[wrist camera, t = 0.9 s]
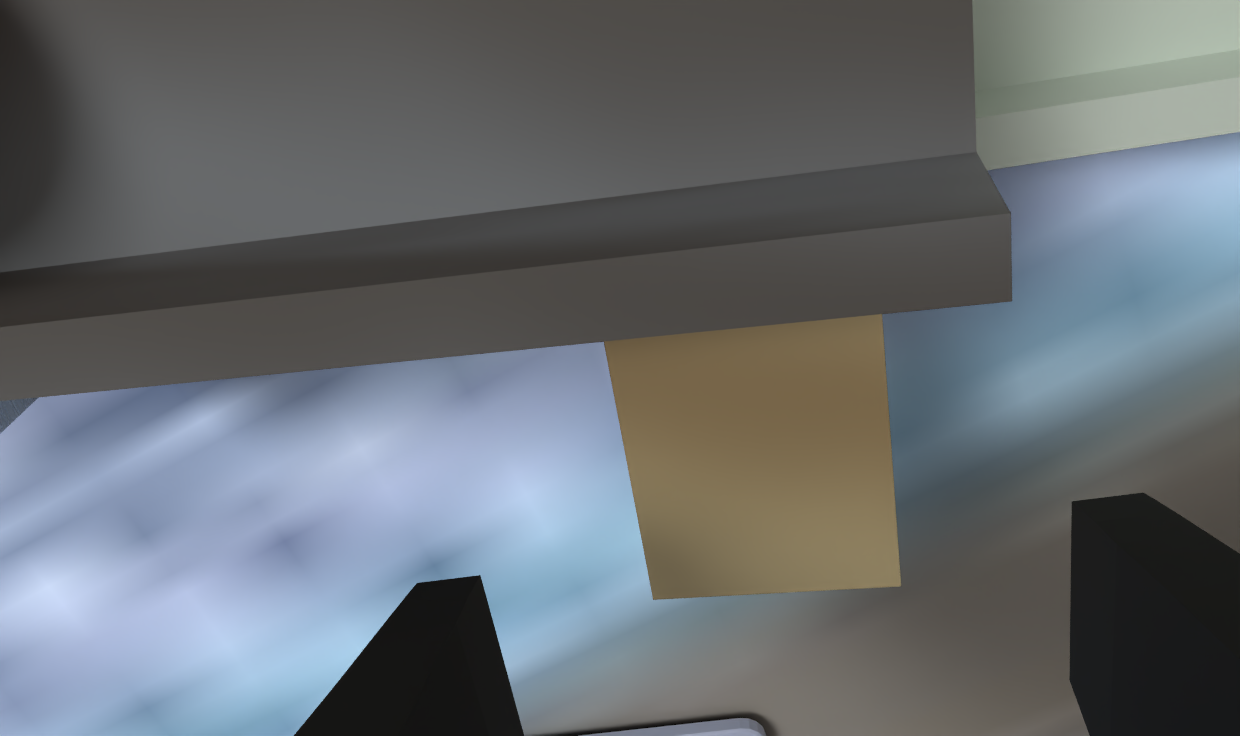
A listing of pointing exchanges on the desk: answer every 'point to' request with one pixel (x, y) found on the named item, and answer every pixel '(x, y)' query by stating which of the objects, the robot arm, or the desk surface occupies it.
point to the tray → (1101, 75)
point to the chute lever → (520, 225)
